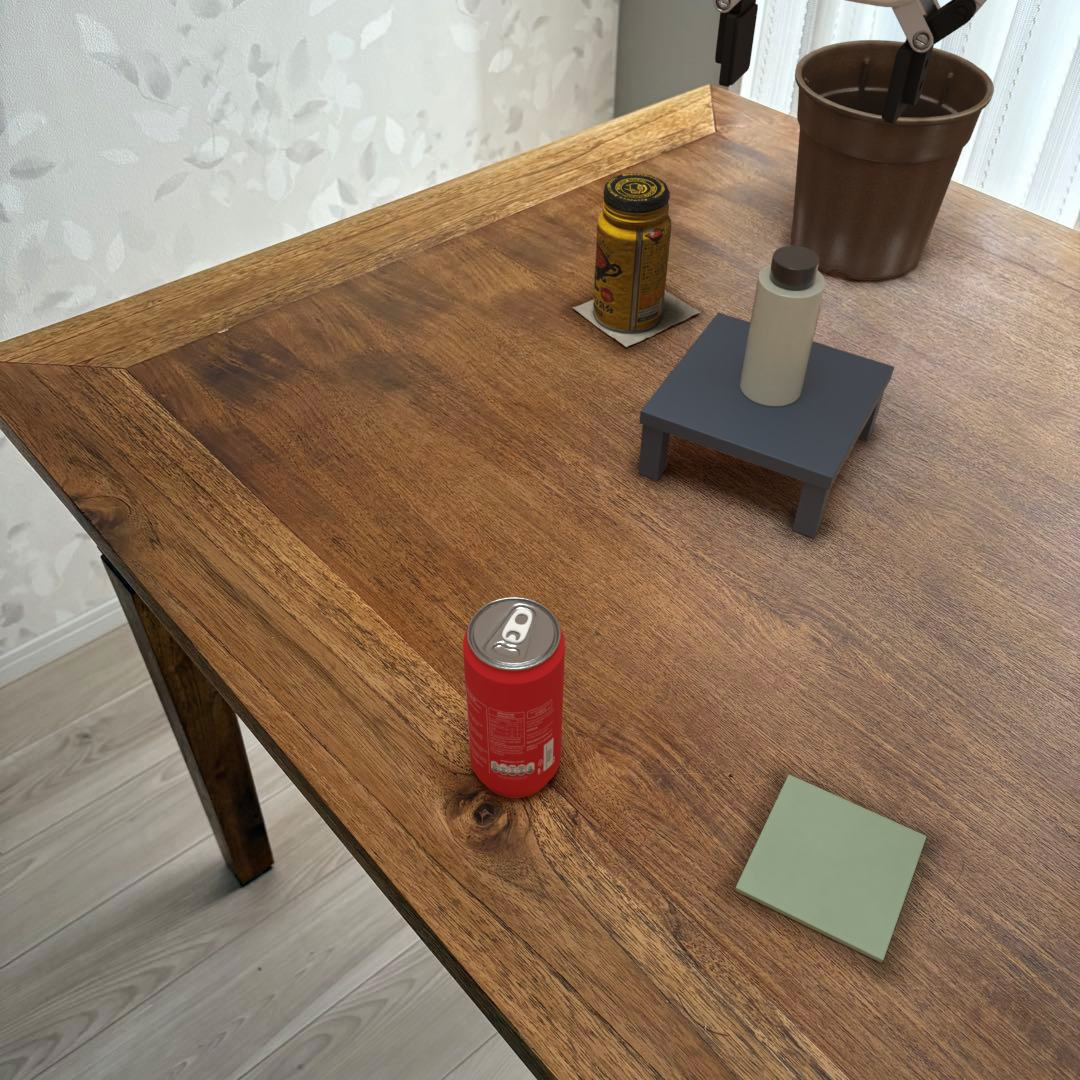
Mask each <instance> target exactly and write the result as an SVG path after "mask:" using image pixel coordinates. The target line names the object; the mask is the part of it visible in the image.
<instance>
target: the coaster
mask: <svg viewBox="0 0 1080 1080" xmlns="http://www.w3.org/2000/svg"><path fill="white" fill-rule="evenodd" d="M927 837H928V836H927V835H926V834H923V833H920V832H918V831H917V830H914V829H912V828H909V827H907V826H905V825H903V824H900V823H898V822H896V821H894V820H892V819H889V818H887V817H886V816H883V815H880V814H878V813H876V812H874V811H872V810H869V809H868V808H865V807H863V806H860V805H859V804H856V803H854V802H852V801H849V800H847V799H845V798H843V797H840V796H839V795H836V794H834V793H833V792H832V793H831V792H829V791H827V790H825V789H822V788H820V787H818V786H816V785H814V784H812V783H809V782H807V781H805V780H802V779H800V778H798V777H796V776H794V775H791V774H788V775H787V777H786V778H785V781H784V783H783V784H782V787H781V790H780V791H779V794H778V796H777V797H776V800H775V802H774V804H773V807H772V808H771V810H770V813H769V815H768V817H767V820H766V821H765V823H764V826H763V828H762V830H761V832H760V834H759V836H758V838H757V841H756V843H755V844H754V846H753V849H752V851H751V853H750V856H749V858H748V860H747V862H746V864H745V866H744V868H743V870H742V872H741V875H740V876H739V878H738V881H737V883H736V885H735V888H734V891H735V892H737V893H739V894H740V895H742V896H744V897H747V898H749V899H750V900H752V901H754V902H757V903H758V904H760V905H763V906H764V907H767V908H768V909H771V910H773V911H775V912H777V913H779V914H781V915H782V916H784V917H787V918H789V919H791V920H793V921H795V922H797V923H799V924H801V925H803V926H805V927H807V928H809V929H811V930H813V931H815V932H818V933H819V934H821V935H823V936H825V937H828V938H829V939H831V940H833V941H836V942H837V943H839V944H841V945H844V946H846V947H848V948H849V949H852V950H854V951H856V952H858V953H860V954H862V955H865V956H866V957H868V958H870V959H872V960H874V961H875V962H877V963H880V964H883V963H884V960H885V957H886V955H887V951H888V949H889V946H890V942H891V940H892V937H893V935H894V932H895V928H896V927H897V923H898V921H899V917H900V914H901V912H902V910H903V909H902V908H903V906H904V903H905V901H906V897H907V894H908V891H909V889H910V885H911V884H912V881H913V878H914V875H915V873H916V869H917V866H918V863H919V860H920V857H921V854H922V852H923V849H924V847H925V843H926V840H927Z"/></svg>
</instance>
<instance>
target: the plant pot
mask: <svg viewBox="0 0 1080 1080" xmlns="http://www.w3.org/2000/svg"><path fill="white" fill-rule="evenodd" d="M904 42H905V41H897V40H885V39H859V40H850V41H849V40H848V41H842V42H837V43H832V44H829V45H825V46H821V47H819V48H817V49H814V50H812V51H810V52H809V53H806V54H805V55H803V57H801V58H800V59H799V61H798V62H797V64H796V66H795V70H794V79H795V83H796V85H797V87H798V94H797V95H798V96H797V99H798V100H797V111H796V112H797V113H796V115H797V116H796V120H797V122H798V125H799V135H798V147H797V160H796V170H795V171H796V172H795V185H794V198H793V211H792V222H791V231H790V243H791V245H794V246H802V247H805V248H808V249H810V250H812V251H814V252H815V253H816V254H817V255H818V257H819V266H818V271H821V272H824V273H826V274H830V273H833V272H838V273H841V274H844V275H845V276H846V277H847V278H849V279H852V280H859V281H860V280H862V281H876V280H885V279H890V278H894V277H898V276H901V275H904V274H906V273H908V272H910V271H911V270H913V269H914V268H915V267H917V266H918V264H919V262H920V260H921V259H922V257H923V255H924V253H925V250H926V247H927V245H928V242H929V239H930V236H931V234H932V231H933V228H934V225H935V222H936V220H937V217H938V215H939V212H940V210H941V207H942V205H943V202H944V199H945V197H946V194H947V190H948V188H949V186H950V183H951V180H952V177H953V175H954V173H955V170H956V168H957V166H958V162H959V160H960V157H961V155H962V152H963V149H964V147H965V146H966V145H967V144H968V143H969V141H971V138H972V136H973V133H974V131H975V128H976V126H977V123H978V120H979V118H980V116H981V113H982V111H983V110H984V109H986V107H987V106H988V105H989V104H990V103H991V101H992V98H993V96H994V93H995V86H994V82H993V81H992V78H991V77H990V76H989V74H988V73H987V72H985V70H983V69H982V68H980V67H978V66H977V64H975V63H973V62H972V61H970V60H968V59H966V58H964V57H962V56H960V55H958V54H955V53H952V52H949V51H947V50H944V49H940V48H937V47H933V50H932V54H931V58H930V62H929V66H928V70H927V74H926V78H925V82H924V86H923V90H922V93H921V96H920V98H919V101H918V102H917V104H916V105H915V106H911V105H907V107H906V109H905V110H904V111H903V113H902V114H901V115H900V117H899V118H898V119H897V121H896V122H895V123H894V124H890V123H886V122H884V119H882V114H883V109H884V105H885V101H886V96H887V92H888V87H889V83H890V79H891V74H892V70H893V66H894V61H895V57H896V54H897V51H898V49H899V48H900V47H901V46H902V45H903V43H904Z"/></svg>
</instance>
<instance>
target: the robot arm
mask: <svg viewBox="0 0 1080 1080" xmlns="http://www.w3.org/2000/svg"><path fill="white" fill-rule="evenodd" d="M845 1H846V2H850V3H851V2H852V3H857V4H861V5H869V6H875V7H880V8H881V7H882V8H891V9H892V11H893V13H894V15H895V17H896V19H897V21H898V23H899V26H900V28H901V29H902V32H903V33H904V36H905V41H903V42H904V43H903V45H902V46H901V47H900V48H899V49H898V51H897V54H896V57H895V61H894V66H893V70H892V74H891V79H890V83H889V87H888V92H887V96H886V101H885V105H884V109H883V114H882V119H884V122H886V123H890V124H894V123H895V122H896V121H897V119H898V118H899V117H900V115H901V114H902V113H903V111H904V110H905V109H906V107H907V105H911V106H915V105H916V104H917V102H918V101H919V98H920V96H921V93H922V90H923V86H924V82H925V78H926V74H927V70H928V66H929V62H930V58H931V54H932V50H933V48H934V46H935V45H936V44H937V43H939V42H940V41H942V40H943V39H945V38H946V37H949V35H951V34H953V33H954V32H955V31H957V30H959V29H961V27H963V26H965V25H966V24H968V23H969V22H970V21H971V20H972V18H973V17H974V16H975V15H976V14H977V12H978V11H979V10H980V9H981V8H982V7H983V6H984V4H985V3H986V2H987V1H988V0H950V1H948V2H947V3H945V4H943V5H942V6H941V5H940V3H939V0H845ZM712 3H713V7H714V9H715V10H716V11H717V12H719V21H718V29H717V36H716V37H717V38H716V44H715V45H716V46H715V54H714V60H715V61H714V62H715V63H716V64H719V65H720V69H719V80H718V85H719V86H722V87H727V88H730V87H731V86H733V85H735V83H736V82H737V81H739V79H740V78H741V77H743V76H744V74H746V73H747V72H748V71H749V69H750V67H751V66H750V65H751V60H752V54H753V45H754V38H755V32H756V25H757V18H758V9H759V5H758V3H757V0H713V1H712Z"/></svg>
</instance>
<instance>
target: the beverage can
mask: <svg viewBox="0 0 1080 1080" xmlns="http://www.w3.org/2000/svg"><path fill="white" fill-rule="evenodd" d="M462 654H463V655H462V656H463V670H464V685H465V686H464V687H465V698H466V699H465V700H466V701H465V702H466V716H467V733H468V747H469V748H468V749H469V760H470V765H471V768H472V771H473V772H474V775H476V777H477V778H478V779H479V781H480V782H482V784H483V785H484V786H485V787H486V788H487V789H488V790H489V791H491V792H492V793H494V794H496V795H498V796H499V797H503V798H507V799H523V798H527V797H531V796H533V795H535V794H536V793H538V792H540V791H541V790H542V789H544V788H545V787H546V786H547V785H548V783H549V782H550V780H552V778H554V776H555V774H556V773H557V771H558V769H559V767H560V763H561V758H562V757H561V756H562V736H563V735H562V734H563V713H564V712H563V709H564V683H565V660H566V659H565V657H566V637H565V635H564V632H563V630H562V628H561V625H560V623H559V621H558V618H557V617H556V615H555V614H554V613H553V611H551V609H549V607H547V606H545V605H544V604H543V603H541V602H539V601H536V600H533V599H531V598H526V597H519V596H518V597H514V596H511V597H503V598H498V599H495V600H492V601H490V602H487V603H486V604H484V605H483V606H481V607H480V608H479V609H478V610H476V612H475V613H474V614H473V616H472V617H471V618H470V620H469V623H468V625H467V629H466V630H465V632H464V635H463V640H462Z"/></svg>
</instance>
